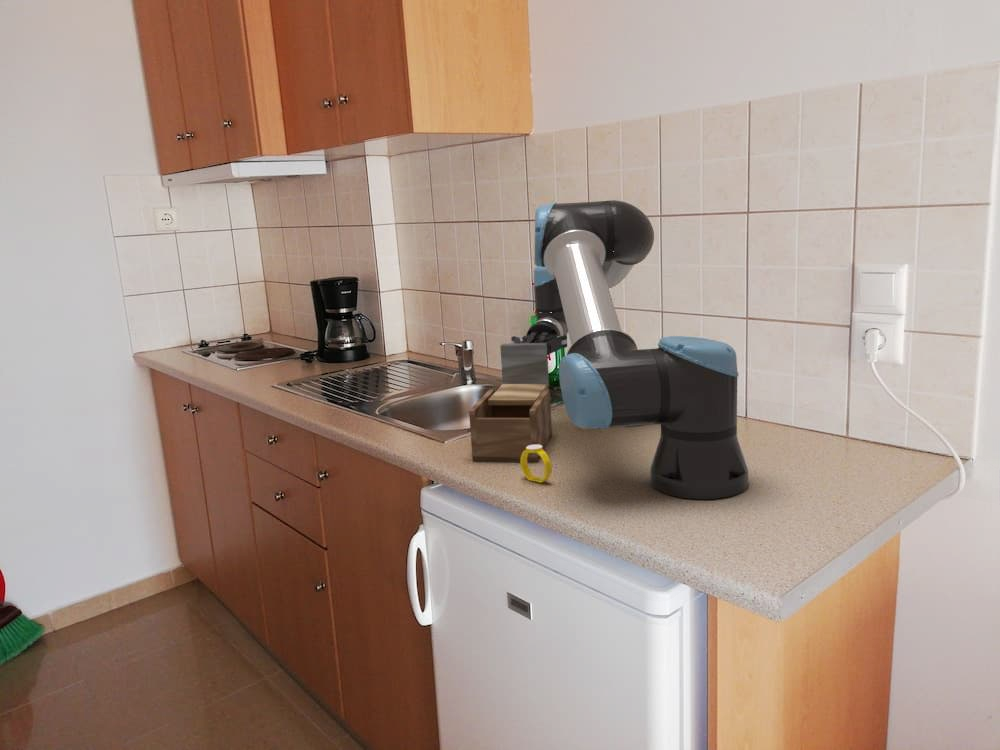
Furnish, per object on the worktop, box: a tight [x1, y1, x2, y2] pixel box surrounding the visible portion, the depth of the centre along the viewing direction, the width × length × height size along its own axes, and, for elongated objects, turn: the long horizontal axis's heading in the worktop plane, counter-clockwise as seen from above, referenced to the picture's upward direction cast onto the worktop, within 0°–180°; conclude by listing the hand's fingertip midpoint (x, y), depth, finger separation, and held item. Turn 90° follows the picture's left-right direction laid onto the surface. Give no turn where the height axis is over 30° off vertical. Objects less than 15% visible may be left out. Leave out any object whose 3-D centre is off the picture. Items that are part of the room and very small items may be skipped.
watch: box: [519, 444, 553, 484], centre depth 131 cm, size 6×3×6 cm, turn 44°
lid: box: [488, 343, 550, 405], centre depth 154 cm, size 15×9×9 cm, turn 167°
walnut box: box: [468, 388, 553, 464], centre depth 148 cm, size 16×12×10 cm
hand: (525, 355), depth 161 cm, fingers closed
